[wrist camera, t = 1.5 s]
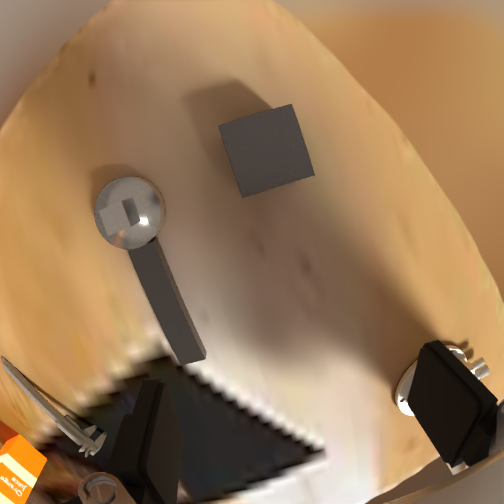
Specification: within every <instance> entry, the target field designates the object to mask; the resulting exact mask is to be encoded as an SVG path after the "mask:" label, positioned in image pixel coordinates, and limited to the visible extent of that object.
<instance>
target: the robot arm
mask: <svg viewBox="0 0 504 504" xmlns="http://www.w3.org/2000/svg"><path fill="white" fill-rule="evenodd" d="M488 374H489V368H488V366H487V365H486V364H485V361H484V359H483V358H482V357H480V358H479V359H477V360H475V361H474V362H473V363H468V362H467V358H466V355H465V354H464V352H463V351H462V350H461V349H459V348H458V347H456V346H454V345H444V344H443V343H442V342H441V341H439V340H436V341H432V342H428V343H425V344H424V346H423V348H421V350H420V353H419V357H418V360H416V361H415V362H414V363H413V364H412V365H411V366H410V367H409V369H408V370H407V371H406V372H405V374H404V375H403V377H402V378H401V380H400V382H399V384H398V387H397V389H396V394H395V401H396V405H397V406H398V408H399V410H400V411H401V412H402V413H404V414H406V415H409V416H415V417H416V419H417V420H418V422H419V423H420V425H421V426H422V428H423V429H424V431H425V432H426V434H427V436H428V437H429V439H430V440H431V442H432V443H433V445H434V446H435V448H436V450H437V451H438V453H439V454H440V456H441V457H442V459H443V461H444V462H445V463H446V464H447V465H448V467H449V469H450V470H451V472H452V474H453V476H451V477H449V478H447V479H445V480H442V481H440V482H438V483H436V484H433V485H431V486H429V487H427V488H424V489H422V490H419V491H417V492H414V493H412V494H409V495H407V496H404V497H401V498H398V499H396V500H393V501H390V502H387V503H384V504H504V401H503V402H502V403H500V405H499V404H498V403H497V401H498V399H497V398H496V397H495V396H494V395H493V394H492V393H491V392H490V391H489V390H488V389H487V388H486V386H485V385H484V384H483V383H482V382H481V381H480V380H481V379H482V378H484V377H485V376H487V375H488ZM182 444H183V434H182V430H181V427H180V424H179V421H178V418H177V415H176V412H175V409H174V406H173V402H172V399H171V396H170V392H169V389H168V386H167V383H162V381H161V379H144V380H143V382H142V385H141V388H140V391H139V395H138V398H137V401H136V404H135V407H134V410H133V413H132V414H126V415H125V416H124V418H123V420H122V423H121V426H120V429H119V432H118V435H117V438H116V441H115V445H114V448H113V451H112V454H111V457H110V461H109V464H108V467H107V471H106V473H104V472H102V473H94V474H91V475H89V476H87V477H86V478H85V479H84V480H83V481H82V482H81V484H80V486H79V496H77V497H75V498H73V499H71V500H69V501H67V502H65V503H63V504H176V501H177V491H178V481H179V471H180V461H181V452H182Z"/></svg>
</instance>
